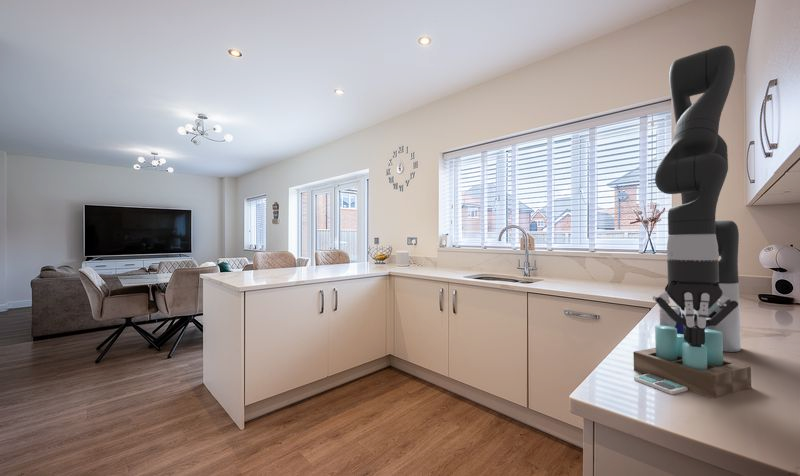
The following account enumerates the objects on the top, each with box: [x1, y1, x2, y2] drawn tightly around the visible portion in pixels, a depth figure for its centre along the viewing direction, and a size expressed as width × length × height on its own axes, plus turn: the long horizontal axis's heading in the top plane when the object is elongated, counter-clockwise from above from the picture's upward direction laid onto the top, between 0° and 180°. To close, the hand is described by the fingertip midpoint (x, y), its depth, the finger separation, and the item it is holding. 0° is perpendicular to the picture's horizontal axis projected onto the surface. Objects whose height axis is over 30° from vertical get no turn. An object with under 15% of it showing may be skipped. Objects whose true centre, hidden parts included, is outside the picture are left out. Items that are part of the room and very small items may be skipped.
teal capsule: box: [677, 334, 687, 356], centre depth 70 cm, size 4×4×8 cm
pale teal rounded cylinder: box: [654, 325, 678, 361], centre depth 69 cm, size 4×4×8 cm
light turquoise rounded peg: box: [682, 343, 707, 371], centre depth 64 cm, size 4×4×8 cm
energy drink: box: [659, 305, 684, 334], centre depth 79 cm, size 5×5×12 cm
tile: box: [633, 373, 689, 395], centre depth 64 cm, size 4×7×1 cm, turn 19°
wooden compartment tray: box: [632, 347, 752, 399], centre depth 67 cm, size 12×14×4 cm
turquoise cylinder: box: [701, 329, 724, 367], centre depth 66 cm, size 4×4×8 cm
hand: (694, 345), depth 64 cm, fingers closed
